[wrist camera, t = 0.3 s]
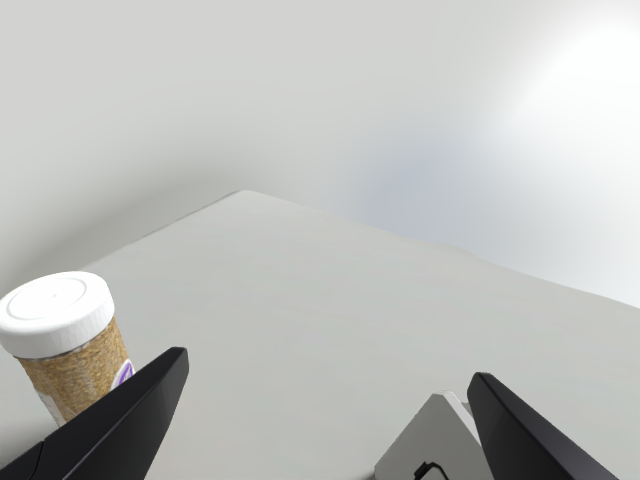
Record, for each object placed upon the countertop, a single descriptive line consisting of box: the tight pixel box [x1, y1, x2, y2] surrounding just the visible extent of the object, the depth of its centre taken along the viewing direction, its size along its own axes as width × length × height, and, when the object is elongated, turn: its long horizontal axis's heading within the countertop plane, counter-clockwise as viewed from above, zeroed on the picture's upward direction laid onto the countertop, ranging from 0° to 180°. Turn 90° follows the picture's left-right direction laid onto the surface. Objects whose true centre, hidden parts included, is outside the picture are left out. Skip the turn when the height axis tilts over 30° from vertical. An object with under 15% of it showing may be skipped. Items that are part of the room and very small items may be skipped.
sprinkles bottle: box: [0, 272, 135, 427], centre depth 18 cm, size 5×5×13 cm
